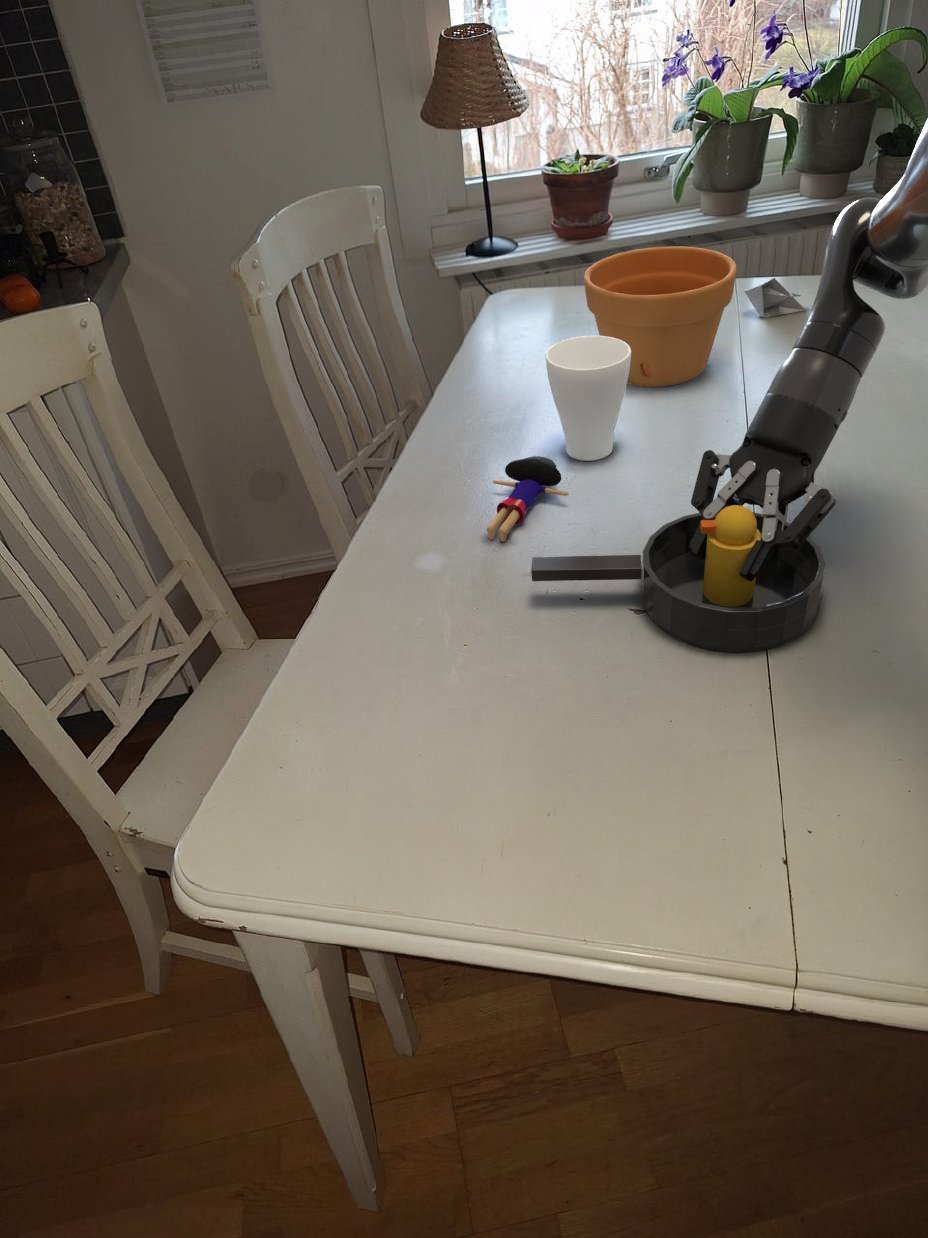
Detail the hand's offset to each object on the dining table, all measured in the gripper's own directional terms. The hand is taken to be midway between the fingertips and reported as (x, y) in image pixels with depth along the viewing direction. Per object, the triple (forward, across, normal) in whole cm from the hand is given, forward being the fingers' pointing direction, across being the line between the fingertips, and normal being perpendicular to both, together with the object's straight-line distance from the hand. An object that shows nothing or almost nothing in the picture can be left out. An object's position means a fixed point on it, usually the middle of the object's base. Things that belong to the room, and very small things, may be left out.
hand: (721, 567), depth 87 cm
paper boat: (-45, -36, +53) cm, 78 cm away
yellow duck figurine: (+2, 0, +4) cm, 4 cm away
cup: (-9, -31, +16) cm, 36 cm away
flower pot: (-27, -40, +34) cm, 59 cm away
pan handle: (+6, -11, -4) cm, 13 cm away
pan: (+2, 0, +5) cm, 5 cm away
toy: (+3, -28, +4) cm, 29 cm away
